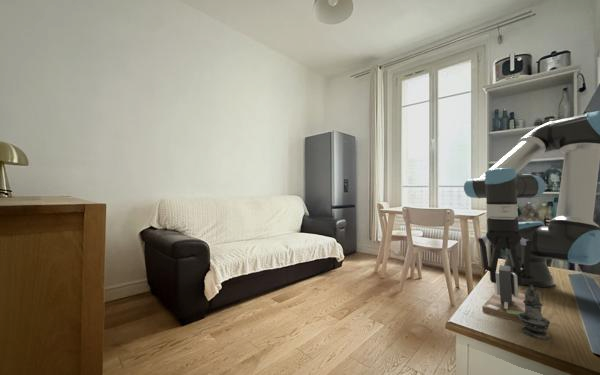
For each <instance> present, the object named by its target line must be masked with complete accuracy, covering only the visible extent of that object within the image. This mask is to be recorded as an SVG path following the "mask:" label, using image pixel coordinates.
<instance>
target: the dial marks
mask: <svg viewBox="0 0 600 375" xmlns="http://www.w3.org/2000/svg"><path fill="white" fill-rule="evenodd" d="M486 307H489V308H491V309H494V310H499V309H501V308H499V307H496V306H493V305H487V306H486ZM506 311H507V313H508V314H515V315H518V314H520V313H523V312H519V311H512V310H506Z"/></svg>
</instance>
